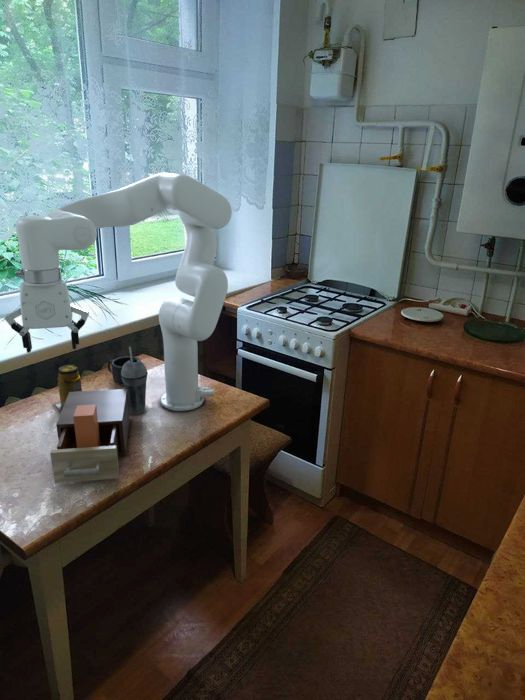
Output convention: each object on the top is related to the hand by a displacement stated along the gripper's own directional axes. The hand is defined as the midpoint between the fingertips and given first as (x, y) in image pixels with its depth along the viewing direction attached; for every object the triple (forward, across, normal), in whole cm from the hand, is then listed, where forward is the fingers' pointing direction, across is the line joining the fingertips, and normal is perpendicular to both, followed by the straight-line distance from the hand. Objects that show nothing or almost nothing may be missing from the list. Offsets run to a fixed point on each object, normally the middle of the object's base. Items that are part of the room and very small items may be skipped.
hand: (52, 348), depth 113 cm
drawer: (+25, +6, -11) cm, 28 cm away
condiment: (+27, +1, +21) cm, 34 cm away
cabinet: (+26, +8, +2) cm, 28 cm away
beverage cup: (+26, +18, +15) cm, 35 cm away
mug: (+26, +15, +35) cm, 47 cm away
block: (+24, +6, -10) cm, 27 cm away
